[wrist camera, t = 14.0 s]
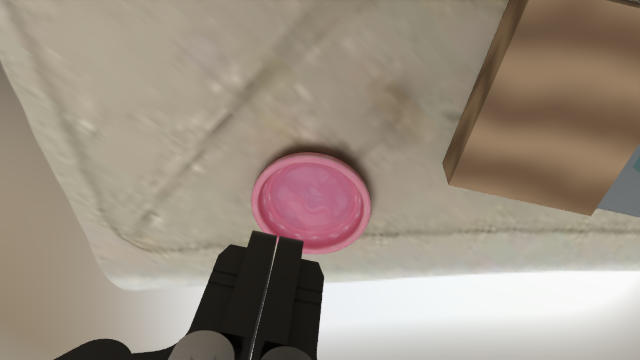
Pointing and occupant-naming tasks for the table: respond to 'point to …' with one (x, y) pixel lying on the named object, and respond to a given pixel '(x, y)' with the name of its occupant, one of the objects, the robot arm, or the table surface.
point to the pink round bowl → (312, 201)
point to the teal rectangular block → (637, 165)
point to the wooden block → (553, 105)
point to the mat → (624, 190)
